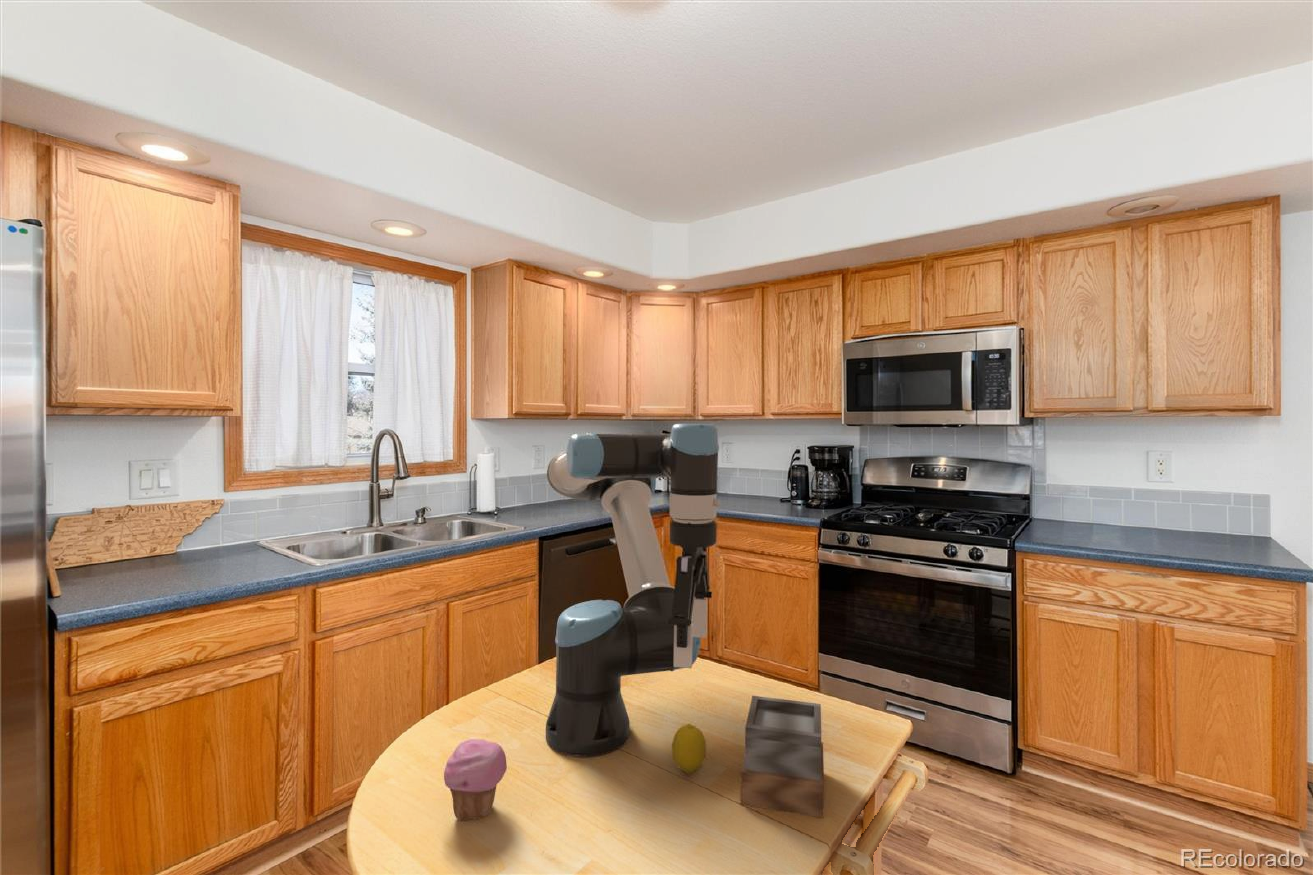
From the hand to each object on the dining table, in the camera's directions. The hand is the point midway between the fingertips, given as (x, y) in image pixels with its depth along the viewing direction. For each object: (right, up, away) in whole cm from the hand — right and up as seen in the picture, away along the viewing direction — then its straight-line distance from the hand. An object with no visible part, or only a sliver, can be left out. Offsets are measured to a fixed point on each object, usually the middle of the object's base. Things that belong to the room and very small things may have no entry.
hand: (691, 650), depth 100 cm
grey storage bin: (+14, -20, -3) cm, 25 cm away
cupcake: (-32, -20, -10) cm, 39 cm away
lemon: (0, -20, +1) cm, 20 cm away
